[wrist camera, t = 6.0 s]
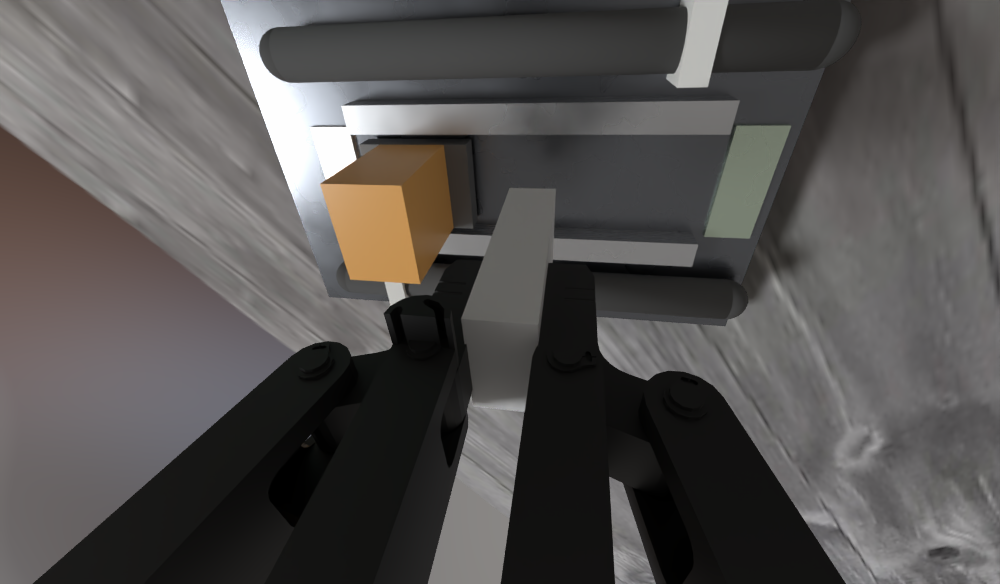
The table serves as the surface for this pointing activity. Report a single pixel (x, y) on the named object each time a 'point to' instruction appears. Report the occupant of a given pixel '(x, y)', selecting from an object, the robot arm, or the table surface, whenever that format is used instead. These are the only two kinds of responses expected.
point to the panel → (549, 144)
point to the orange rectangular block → (401, 205)
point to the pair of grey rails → (577, 52)
